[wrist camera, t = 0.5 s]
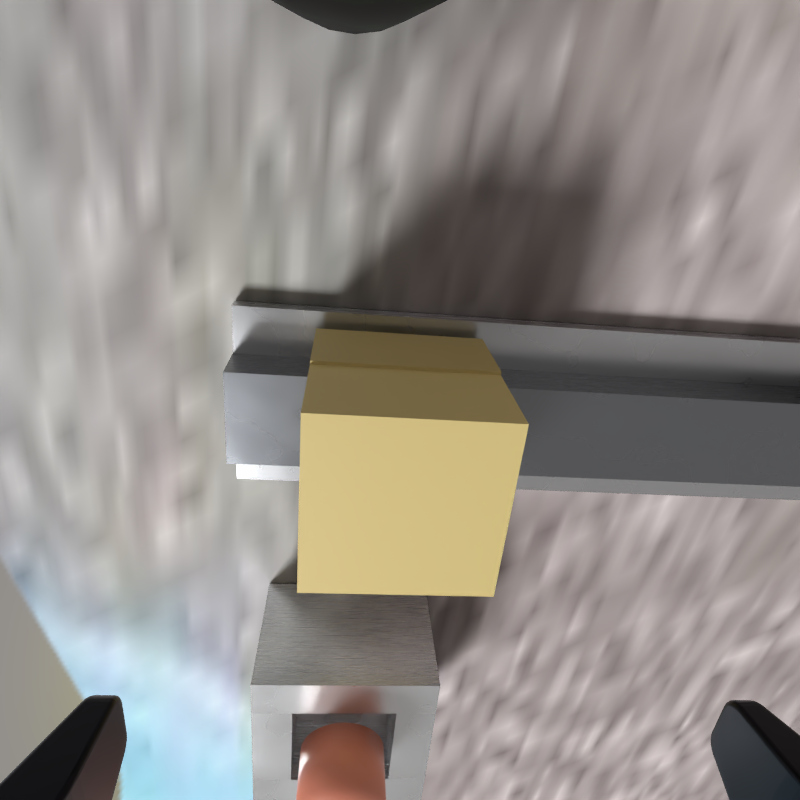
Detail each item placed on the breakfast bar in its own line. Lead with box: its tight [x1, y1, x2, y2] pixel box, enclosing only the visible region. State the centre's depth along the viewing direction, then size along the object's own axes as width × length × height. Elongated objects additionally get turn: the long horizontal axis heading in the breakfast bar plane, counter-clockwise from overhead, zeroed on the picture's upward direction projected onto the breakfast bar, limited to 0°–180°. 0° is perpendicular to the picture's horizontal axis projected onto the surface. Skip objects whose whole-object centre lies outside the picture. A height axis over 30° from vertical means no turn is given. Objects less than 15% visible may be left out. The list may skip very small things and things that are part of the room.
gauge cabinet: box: [251, 584, 440, 800], centre depth 22 cm, size 6×6×4 cm
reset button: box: [296, 723, 386, 800], centre depth 19 cm, size 3×3×2 cm
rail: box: [223, 301, 800, 500], centre depth 19 cm, size 22×6×2 cm, turn 85°
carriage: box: [297, 328, 529, 597], centre depth 16 cm, size 5×5×5 cm
